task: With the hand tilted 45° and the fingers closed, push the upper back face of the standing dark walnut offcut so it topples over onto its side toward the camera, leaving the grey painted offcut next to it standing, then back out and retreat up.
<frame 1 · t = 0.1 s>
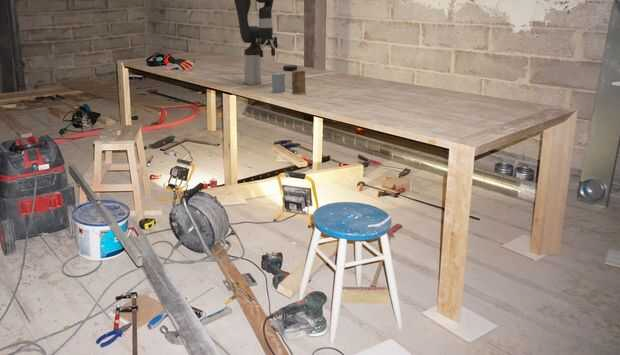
hand: (267, 56, 316), 17 cm above the table, tool pointing down, fingers open, 8 cm apart
jar: (290, 87, 321), on the table
walnut block: (298, 93, 302), on the table
grey block: (278, 91, 307), on the table
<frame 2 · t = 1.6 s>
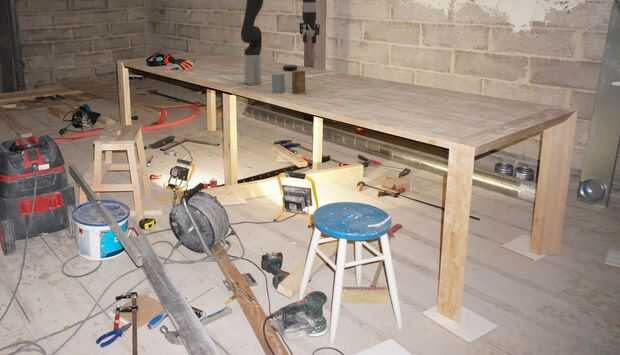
hand: (309, 42, 303), 26 cm above the table, tool pointing down, fingers open, 6 cm apart
nothing on the table moved.
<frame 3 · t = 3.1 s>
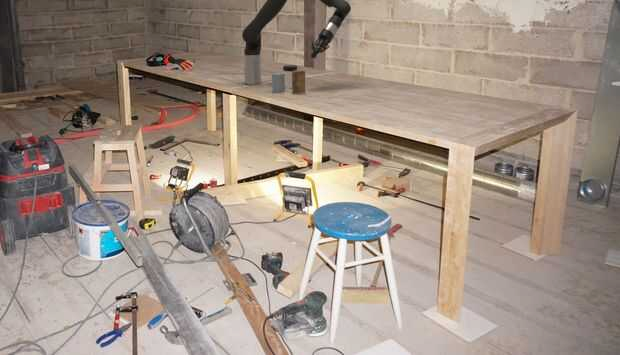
hand: (312, 57, 303), 18 cm above the table, tool tilted 45°, fingers closed
nothing on the table moved.
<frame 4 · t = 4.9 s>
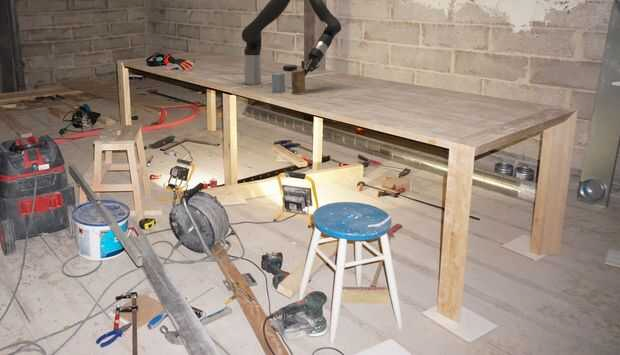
hand: (302, 76, 301), 9 cm above the table, tool tilted 45°, fingers closed
nothing on the table moved.
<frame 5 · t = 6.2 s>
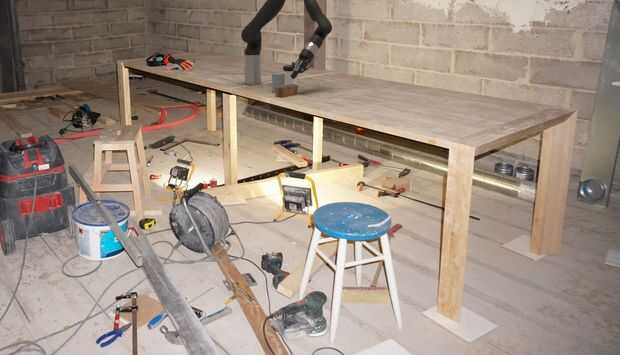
hand: (292, 77, 297), 9 cm above the table, tool tilted 45°, fingers closed
walnut block: (295, 89, 300), point 2 cm above the table, tilted 90°
everything else where it was.
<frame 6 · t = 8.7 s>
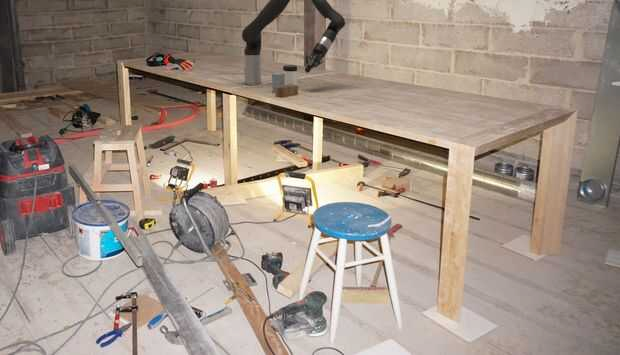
hand: (306, 71, 303), 11 cm above the table, tool tilted 45°, fingers closed
nothing on the table moved.
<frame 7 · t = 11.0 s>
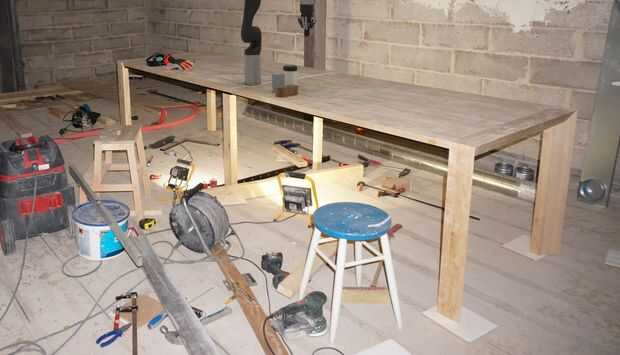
hand: (306, 36, 303), 29 cm above the table, tool pointing down, fingers closed
nothing on the table moved.
at the end: walnut block tilted 90°; walnut block inside the target area (5.5 cm from its centre), point 2.4 cm above the table; grey block moved 0.0 cm from its start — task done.
